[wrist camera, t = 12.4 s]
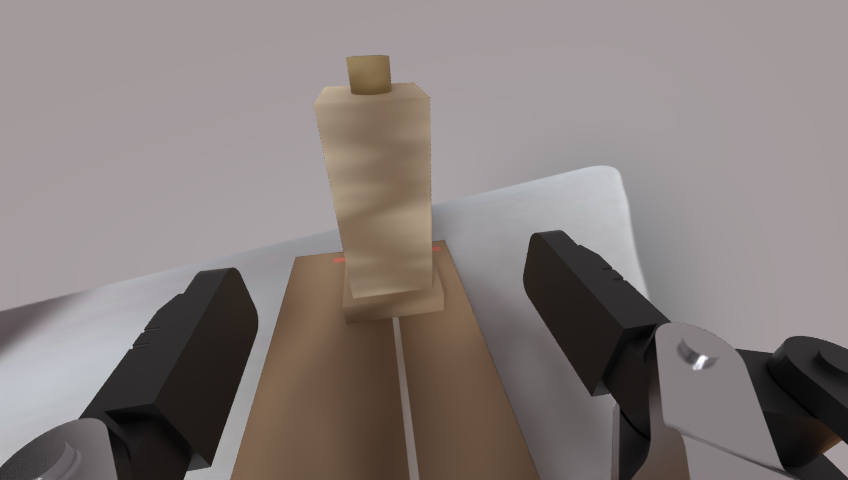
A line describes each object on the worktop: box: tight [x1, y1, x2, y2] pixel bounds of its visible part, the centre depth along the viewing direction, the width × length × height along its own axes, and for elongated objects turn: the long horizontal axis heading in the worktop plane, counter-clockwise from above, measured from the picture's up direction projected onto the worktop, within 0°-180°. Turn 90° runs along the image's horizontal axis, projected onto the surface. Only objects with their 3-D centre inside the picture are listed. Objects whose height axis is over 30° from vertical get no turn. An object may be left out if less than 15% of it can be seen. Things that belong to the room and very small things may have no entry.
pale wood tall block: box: [314, 55, 444, 324], centre depth 15 cm, size 5×6×11 cm
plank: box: [230, 240, 540, 480], centre depth 15 cm, size 10×17×2 cm, turn 9°
